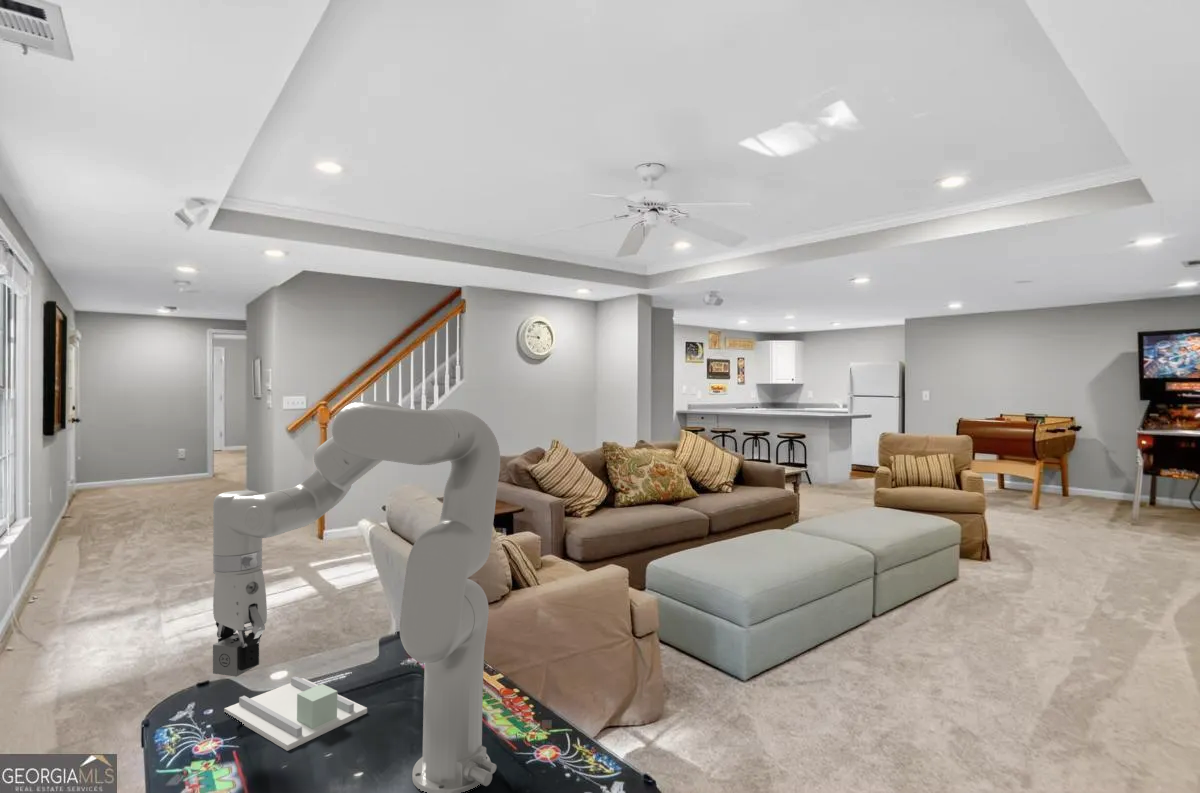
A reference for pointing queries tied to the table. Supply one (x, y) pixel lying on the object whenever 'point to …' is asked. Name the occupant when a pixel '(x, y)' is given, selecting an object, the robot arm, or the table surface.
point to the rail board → (295, 712)
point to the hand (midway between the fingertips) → (238, 661)
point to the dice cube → (227, 657)
